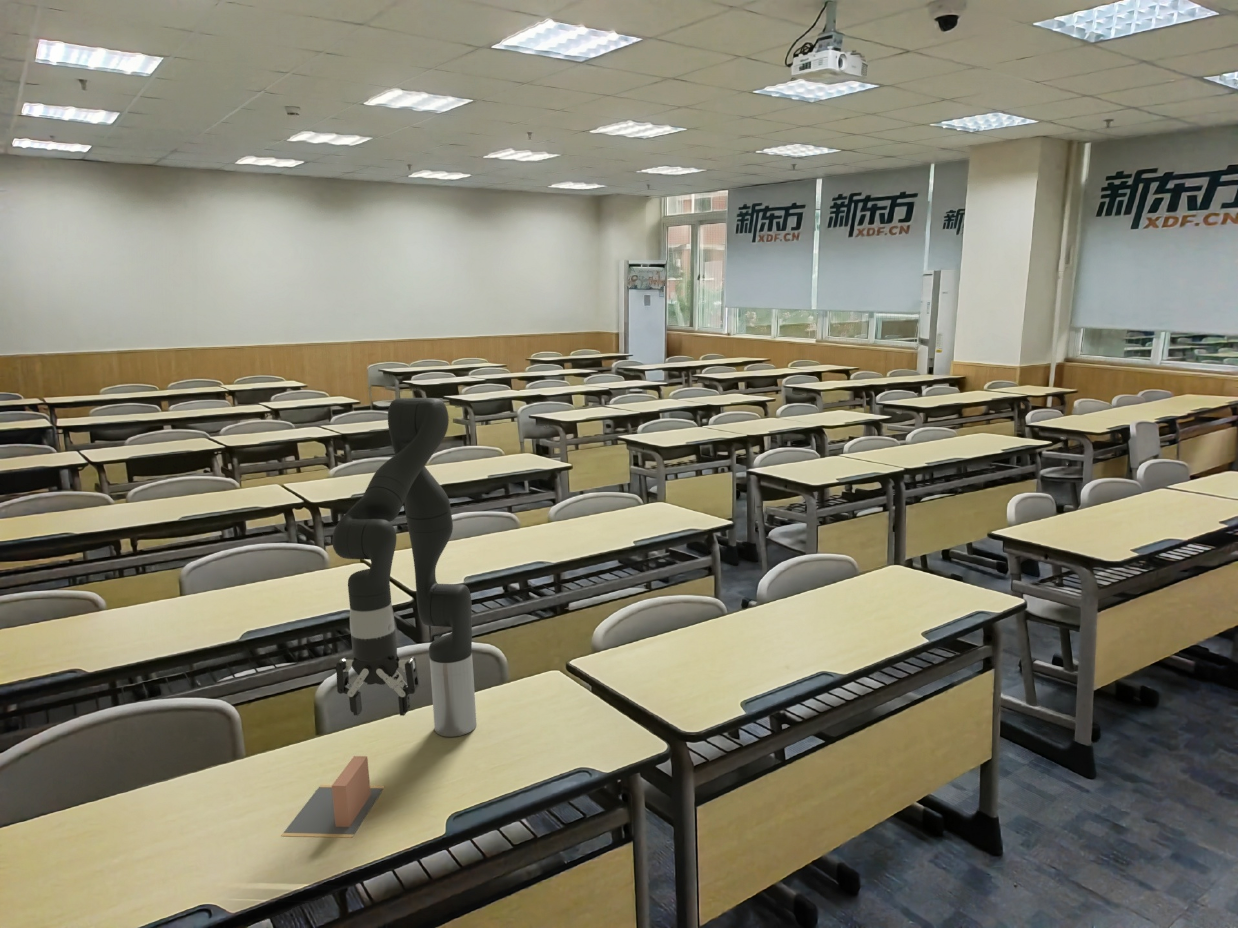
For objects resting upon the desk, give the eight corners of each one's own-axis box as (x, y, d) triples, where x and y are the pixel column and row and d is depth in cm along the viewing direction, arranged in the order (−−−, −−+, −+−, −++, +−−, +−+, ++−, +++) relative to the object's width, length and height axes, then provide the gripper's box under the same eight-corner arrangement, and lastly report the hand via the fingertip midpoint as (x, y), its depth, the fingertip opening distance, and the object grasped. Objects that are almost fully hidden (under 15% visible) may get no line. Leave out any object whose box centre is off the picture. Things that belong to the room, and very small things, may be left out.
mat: (320, 787, 160) (320, 784, 160) (385, 788, 159) (385, 785, 159) (281, 838, 144) (280, 835, 144) (352, 840, 143) (352, 837, 143)
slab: (357, 794, 156) (354, 755, 155) (370, 794, 156) (367, 756, 154) (335, 826, 146) (331, 785, 145) (349, 826, 146) (345, 785, 145)
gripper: (418, 620, 147) (425, 703, 150) (342, 620, 148) (350, 703, 151) (405, 637, 140) (412, 724, 143) (324, 637, 141) (333, 723, 144)
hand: (380, 713), depth 147 cm, fingers open, 8 cm apart
